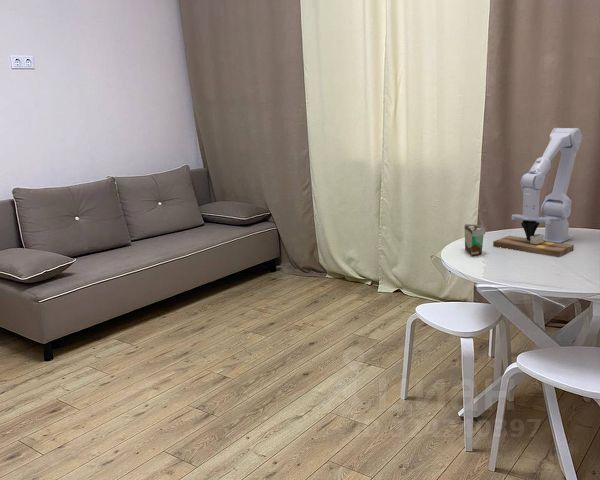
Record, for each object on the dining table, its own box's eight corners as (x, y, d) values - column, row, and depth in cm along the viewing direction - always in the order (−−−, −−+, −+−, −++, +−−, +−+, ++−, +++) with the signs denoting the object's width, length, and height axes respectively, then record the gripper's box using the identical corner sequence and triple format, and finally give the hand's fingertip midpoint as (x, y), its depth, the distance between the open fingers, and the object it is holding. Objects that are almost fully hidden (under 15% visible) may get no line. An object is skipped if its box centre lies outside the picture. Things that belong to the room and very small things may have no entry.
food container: (489, 256, 219) (489, 230, 217) (472, 257, 220) (472, 231, 217) (480, 248, 231) (480, 223, 229) (464, 249, 232) (464, 224, 229)
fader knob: (535, 240, 228) (536, 233, 228) (543, 242, 226) (543, 234, 225) (530, 243, 226) (530, 235, 225) (537, 244, 223) (538, 236, 223)
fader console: (509, 240, 241) (509, 235, 240) (573, 250, 222) (573, 244, 221) (493, 246, 233) (493, 241, 233) (558, 257, 214) (558, 251, 214)
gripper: (507, 205, 227) (506, 239, 231) (544, 208, 217) (543, 245, 220) (517, 202, 232) (516, 236, 235) (553, 205, 221) (552, 241, 224)
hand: (529, 240), depth 228 cm, fingers closed
